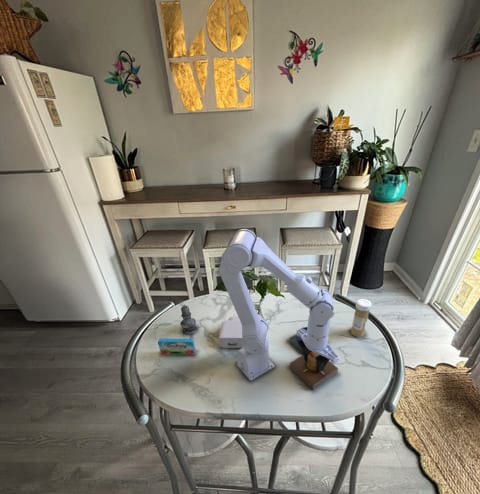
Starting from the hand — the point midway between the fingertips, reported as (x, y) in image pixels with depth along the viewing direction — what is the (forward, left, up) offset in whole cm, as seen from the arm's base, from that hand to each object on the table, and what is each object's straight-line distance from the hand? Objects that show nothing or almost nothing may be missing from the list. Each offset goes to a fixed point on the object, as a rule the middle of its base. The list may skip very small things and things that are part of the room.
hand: (313, 364), depth 83 cm
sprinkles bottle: (+25, +3, -3) cm, 25 cm away
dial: (0, 0, 0) cm, 0 cm away
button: (+7, +10, 0) cm, 13 cm away
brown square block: (0, 0, -3) cm, 3 cm away
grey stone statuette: (-23, +41, -3) cm, 47 cm away
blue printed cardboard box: (-31, +32, -3) cm, 45 cm away
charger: (-10, +29, -3) cm, 31 cm away
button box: (+8, +10, -3) cm, 13 cm away
